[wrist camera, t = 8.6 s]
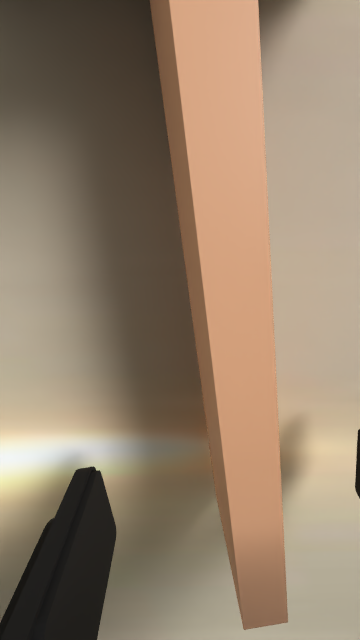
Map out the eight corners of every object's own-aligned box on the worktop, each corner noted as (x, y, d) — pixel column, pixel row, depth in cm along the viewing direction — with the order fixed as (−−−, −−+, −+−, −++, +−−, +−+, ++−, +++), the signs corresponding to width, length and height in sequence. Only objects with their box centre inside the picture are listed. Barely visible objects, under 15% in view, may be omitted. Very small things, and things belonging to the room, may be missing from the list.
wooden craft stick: (180, -161, 5) (206, -1050, 2) (243, 489, 10) (287, 622, 6) (128, -155, 5) (44, -1040, 2) (215, 494, 10) (243, 629, 6)
